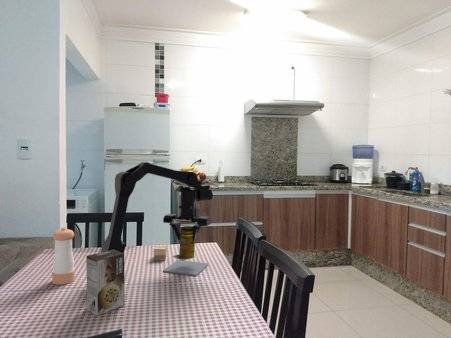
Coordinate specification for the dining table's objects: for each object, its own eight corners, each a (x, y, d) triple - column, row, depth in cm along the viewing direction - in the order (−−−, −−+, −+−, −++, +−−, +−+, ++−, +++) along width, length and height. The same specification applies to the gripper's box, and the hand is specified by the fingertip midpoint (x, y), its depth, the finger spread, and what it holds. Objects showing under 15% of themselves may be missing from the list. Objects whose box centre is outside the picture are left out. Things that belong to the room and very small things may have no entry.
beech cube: (165, 260, 146) (165, 249, 146) (153, 260, 146) (153, 248, 146) (166, 256, 151) (166, 245, 151) (155, 256, 151) (155, 245, 150)
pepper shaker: (65, 285, 116) (65, 230, 115) (47, 283, 118) (47, 229, 117) (79, 278, 123) (79, 226, 122) (61, 276, 125) (61, 225, 124)
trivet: (196, 276, 127) (196, 274, 127) (162, 271, 131) (162, 270, 131) (208, 264, 141) (208, 263, 141) (177, 261, 145) (177, 259, 145)
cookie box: (113, 299, 106) (113, 248, 105) (125, 305, 102) (125, 252, 101) (85, 309, 99) (85, 255, 98) (97, 316, 95) (97, 259, 94)
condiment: (198, 257, 136) (199, 227, 136) (182, 261, 130) (182, 230, 130) (187, 253, 141) (188, 224, 141) (170, 256, 135) (171, 227, 135)
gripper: (215, 201, 140) (214, 238, 141) (174, 198, 145) (174, 234, 146) (206, 205, 129) (205, 245, 130) (162, 202, 135) (162, 240, 135)
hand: (186, 241), depth 136 cm, fingers closed on condiment, 6 cm apart
